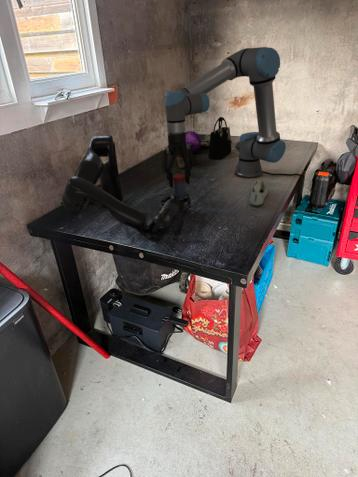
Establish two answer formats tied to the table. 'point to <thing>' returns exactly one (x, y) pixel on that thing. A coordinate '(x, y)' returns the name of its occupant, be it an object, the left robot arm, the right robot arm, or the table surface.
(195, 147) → the decorative orb
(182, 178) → the lid
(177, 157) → the boot
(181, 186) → the jar
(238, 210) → the table surface
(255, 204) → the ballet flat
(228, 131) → the handbag
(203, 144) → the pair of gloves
